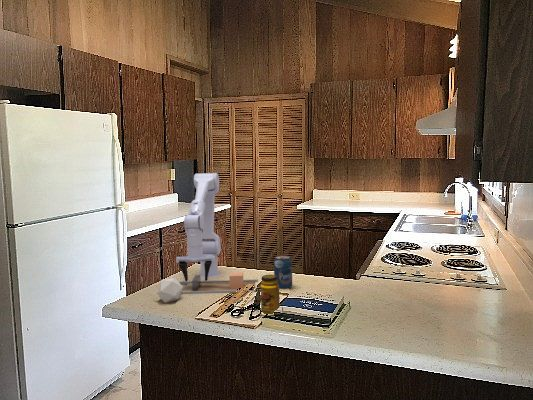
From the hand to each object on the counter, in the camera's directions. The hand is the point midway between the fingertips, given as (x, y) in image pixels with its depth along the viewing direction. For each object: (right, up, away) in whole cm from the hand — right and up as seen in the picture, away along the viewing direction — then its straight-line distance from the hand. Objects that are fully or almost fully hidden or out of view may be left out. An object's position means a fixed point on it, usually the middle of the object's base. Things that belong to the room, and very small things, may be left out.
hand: (196, 280), depth 172 cm
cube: (+16, -3, 0) cm, 16 cm away
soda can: (+34, -3, -1) cm, 34 cm away
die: (-7, -5, -12) cm, 15 cm away
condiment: (+29, -6, -26) cm, 39 cm away
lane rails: (+6, -3, 0) cm, 7 cm away
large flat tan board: (+11, -3, 0) cm, 11 cm away
